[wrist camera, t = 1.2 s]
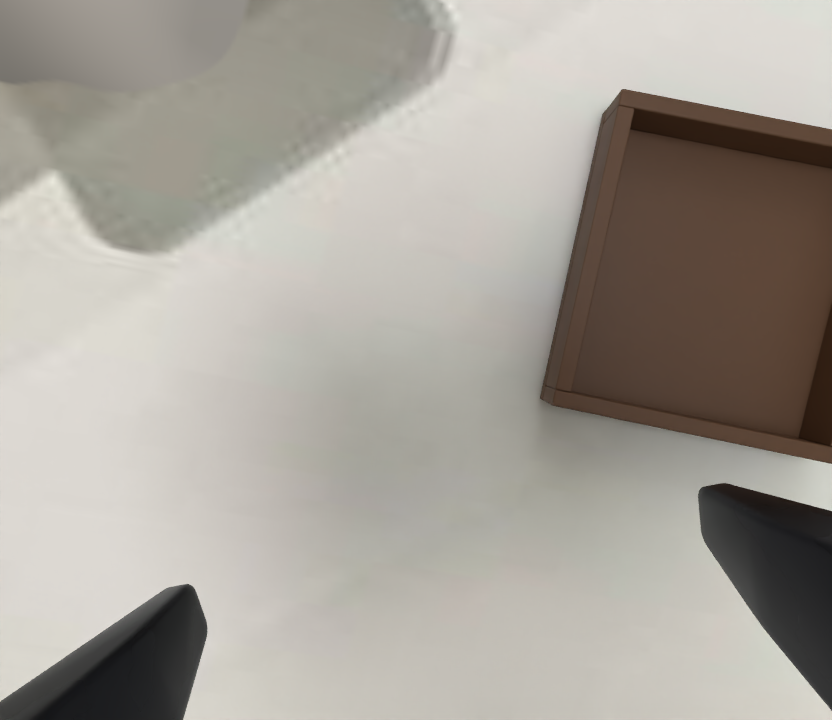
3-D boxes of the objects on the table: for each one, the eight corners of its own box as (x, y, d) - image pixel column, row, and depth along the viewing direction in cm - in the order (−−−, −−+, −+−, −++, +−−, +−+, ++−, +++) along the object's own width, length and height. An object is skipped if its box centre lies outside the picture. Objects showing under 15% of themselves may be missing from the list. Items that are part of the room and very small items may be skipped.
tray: (801, 453, 23) (843, 466, 20) (539, 398, 23) (551, 405, 21) (872, 166, 22) (924, 146, 20) (602, 113, 22) (622, 87, 20)
